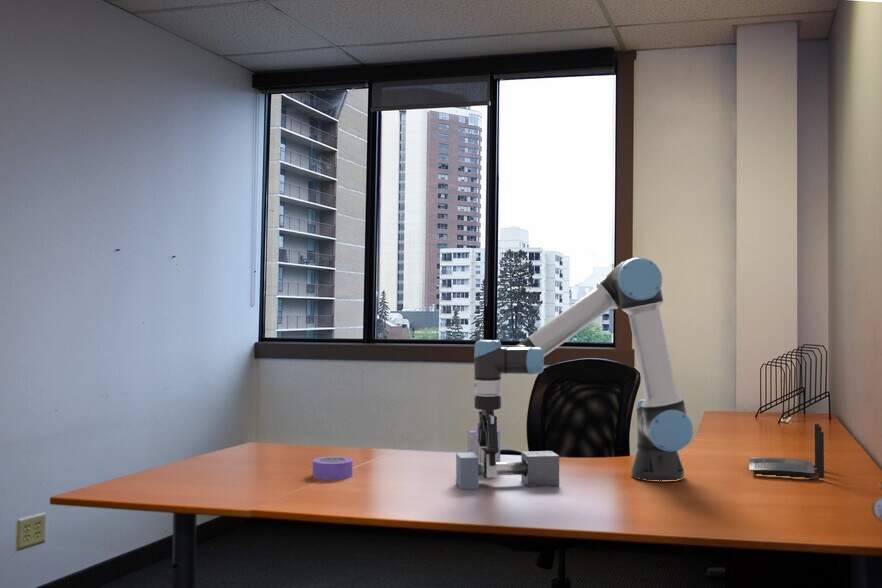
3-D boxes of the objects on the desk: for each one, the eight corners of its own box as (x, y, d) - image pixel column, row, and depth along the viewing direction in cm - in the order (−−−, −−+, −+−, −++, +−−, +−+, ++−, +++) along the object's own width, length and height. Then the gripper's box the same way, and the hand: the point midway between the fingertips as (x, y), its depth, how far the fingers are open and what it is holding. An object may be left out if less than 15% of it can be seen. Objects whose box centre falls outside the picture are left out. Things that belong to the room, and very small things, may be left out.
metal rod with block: (524, 473, 236) (524, 447, 236) (528, 477, 231) (528, 450, 231) (463, 475, 234) (463, 448, 234) (466, 478, 229) (466, 451, 229)
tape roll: (360, 476, 246) (360, 459, 246) (330, 482, 237) (330, 464, 237) (335, 470, 254) (335, 454, 254) (304, 476, 245) (304, 459, 245)
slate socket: (473, 482, 236) (473, 452, 236) (478, 488, 228) (478, 457, 228) (456, 483, 235) (456, 452, 235) (460, 489, 227) (460, 457, 227)
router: (749, 465, 262) (749, 418, 263) (819, 469, 255) (818, 422, 255) (748, 478, 243) (748, 428, 243) (824, 483, 236) (824, 431, 236)
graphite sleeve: (551, 480, 239) (551, 450, 239) (559, 486, 231) (559, 455, 231) (521, 481, 237) (521, 451, 238) (527, 487, 229) (527, 456, 230)
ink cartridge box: (499, 469, 255) (499, 422, 255) (500, 472, 249) (500, 425, 250) (467, 469, 255) (467, 422, 255) (468, 472, 249) (468, 425, 250)
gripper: (468, 390, 243) (468, 465, 243) (481, 399, 221) (482, 482, 220) (492, 390, 244) (493, 465, 244) (509, 399, 221) (509, 481, 221)
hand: (487, 473), depth 232 cm, fingers open, 10 cm apart
